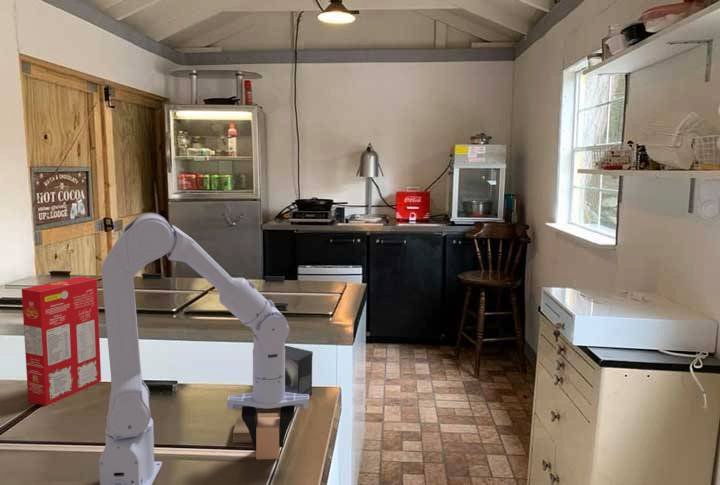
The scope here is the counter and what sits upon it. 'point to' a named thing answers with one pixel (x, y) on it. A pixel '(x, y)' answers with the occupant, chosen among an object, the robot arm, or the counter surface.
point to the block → (268, 438)
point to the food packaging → (61, 338)
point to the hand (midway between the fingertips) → (268, 444)
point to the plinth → (242, 431)
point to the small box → (298, 370)
